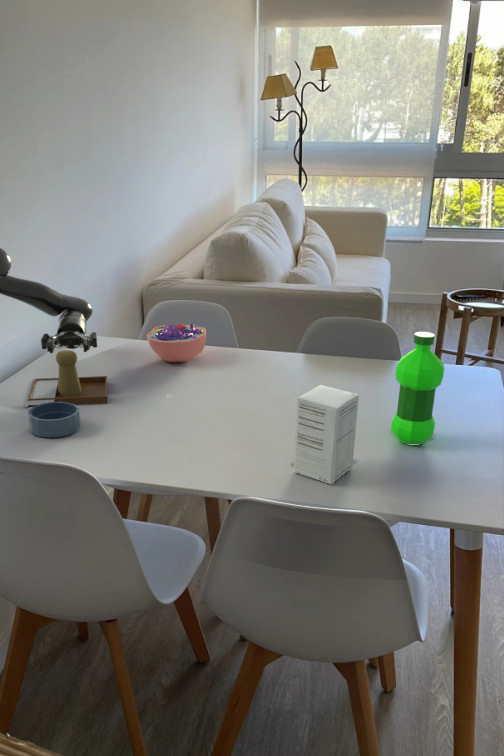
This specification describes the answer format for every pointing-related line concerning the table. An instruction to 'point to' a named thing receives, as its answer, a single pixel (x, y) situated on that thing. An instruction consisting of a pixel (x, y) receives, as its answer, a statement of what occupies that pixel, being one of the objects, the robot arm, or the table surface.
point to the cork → (68, 374)
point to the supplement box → (325, 433)
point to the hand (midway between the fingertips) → (68, 349)
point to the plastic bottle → (417, 391)
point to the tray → (91, 391)
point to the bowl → (54, 419)
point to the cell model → (177, 341)
